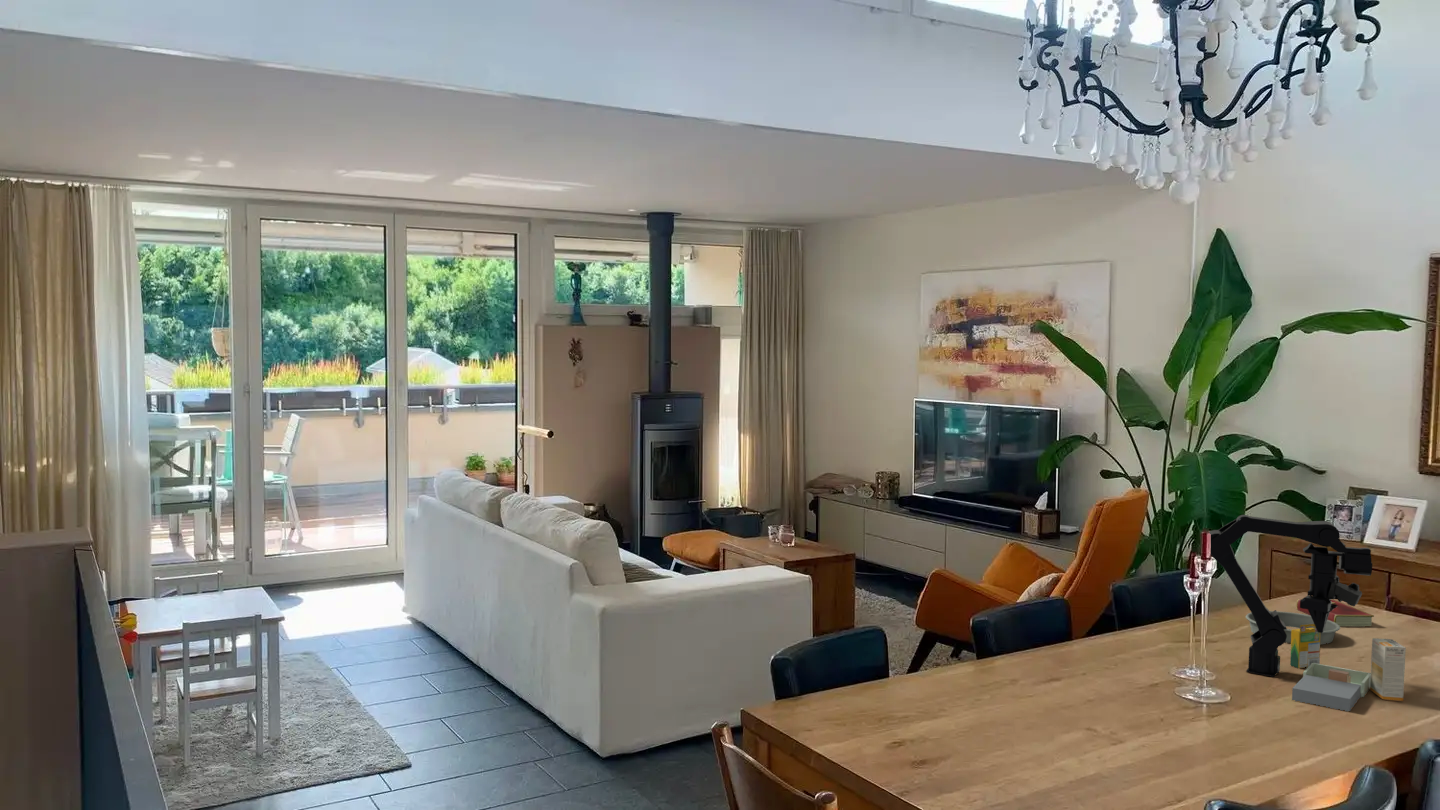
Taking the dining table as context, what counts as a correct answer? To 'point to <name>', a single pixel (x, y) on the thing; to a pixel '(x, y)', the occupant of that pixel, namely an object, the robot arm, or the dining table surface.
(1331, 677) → the tile
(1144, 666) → the dining table surface
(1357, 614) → the hardcover book
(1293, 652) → the crayon box
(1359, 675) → the box
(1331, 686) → the grey base plate
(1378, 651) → the supplement box
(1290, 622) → the cake pan
